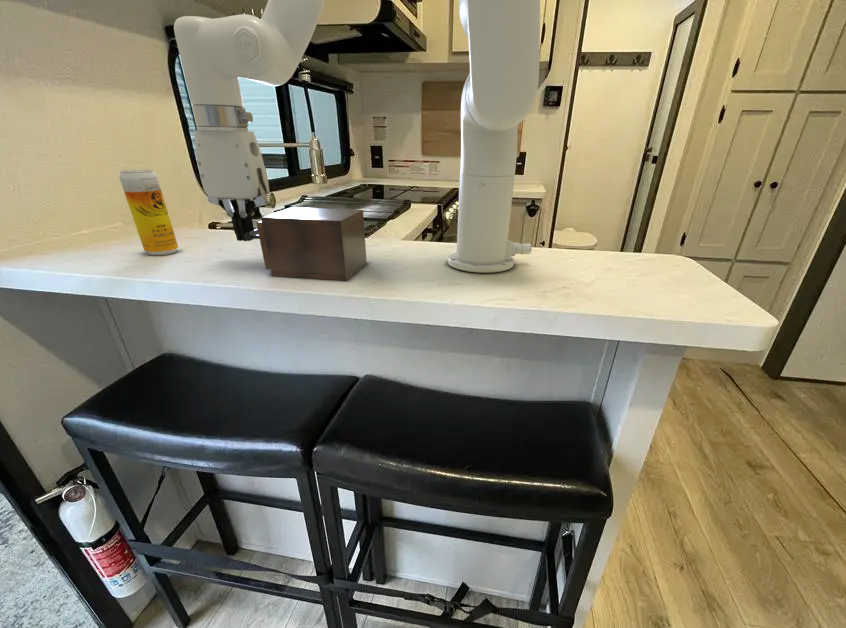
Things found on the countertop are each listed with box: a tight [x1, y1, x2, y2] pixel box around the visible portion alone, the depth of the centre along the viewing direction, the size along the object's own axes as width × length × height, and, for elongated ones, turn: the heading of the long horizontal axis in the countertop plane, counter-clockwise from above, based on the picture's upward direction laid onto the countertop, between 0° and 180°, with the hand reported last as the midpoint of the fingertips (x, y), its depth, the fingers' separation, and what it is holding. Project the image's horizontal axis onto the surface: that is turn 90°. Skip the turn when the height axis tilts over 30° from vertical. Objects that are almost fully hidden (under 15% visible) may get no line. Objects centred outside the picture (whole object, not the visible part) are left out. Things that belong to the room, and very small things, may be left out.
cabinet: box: [260, 206, 368, 282], centre depth 73 cm, size 14×12×10 cm
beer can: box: [119, 169, 179, 256], centre depth 81 cm, size 6×6×15 cm
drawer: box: [244, 220, 271, 271], centre depth 74 cm, size 17×10×8 cm, turn 80°
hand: (246, 239), depth 75 cm, fingers closed
